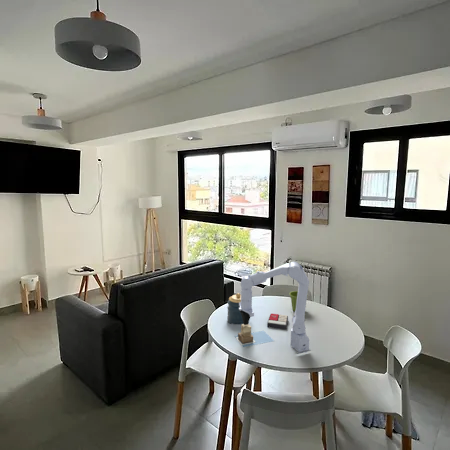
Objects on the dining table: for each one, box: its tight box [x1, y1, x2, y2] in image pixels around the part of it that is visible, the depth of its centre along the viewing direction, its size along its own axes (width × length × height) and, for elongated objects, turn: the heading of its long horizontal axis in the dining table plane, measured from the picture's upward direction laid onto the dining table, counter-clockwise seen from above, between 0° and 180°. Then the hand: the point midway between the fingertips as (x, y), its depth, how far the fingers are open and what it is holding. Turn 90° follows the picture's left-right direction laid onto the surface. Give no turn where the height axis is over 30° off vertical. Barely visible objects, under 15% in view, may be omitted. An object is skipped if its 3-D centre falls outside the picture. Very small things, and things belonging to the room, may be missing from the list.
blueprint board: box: [234, 330, 275, 348], centre depth 161 cm, size 12×18×1 cm, turn 111°
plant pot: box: [289, 290, 308, 312], centre depth 199 cm, size 12×12×11 cm
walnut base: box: [237, 332, 253, 344], centre depth 159 cm, size 6×6×3 cm
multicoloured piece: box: [266, 313, 289, 330], centre depth 180 cm, size 11×4×15 cm
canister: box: [226, 292, 244, 325], centre depth 182 cm, size 13×13×18 cm
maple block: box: [240, 323, 252, 337], centre depth 158 cm, size 4×4×5 cm
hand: (245, 324), depth 158 cm, fingers closed
